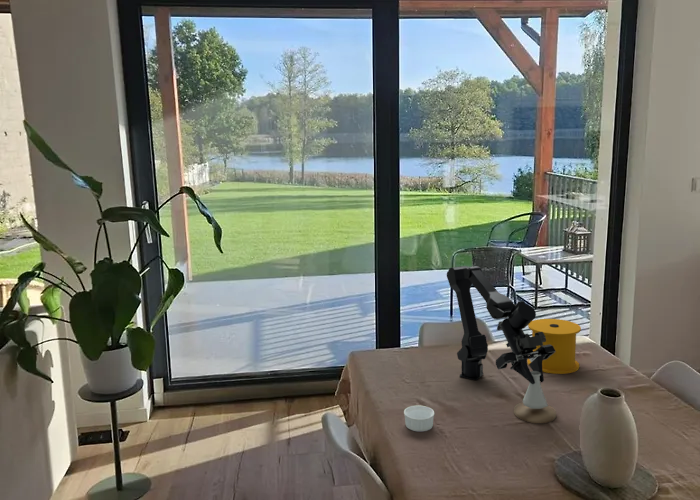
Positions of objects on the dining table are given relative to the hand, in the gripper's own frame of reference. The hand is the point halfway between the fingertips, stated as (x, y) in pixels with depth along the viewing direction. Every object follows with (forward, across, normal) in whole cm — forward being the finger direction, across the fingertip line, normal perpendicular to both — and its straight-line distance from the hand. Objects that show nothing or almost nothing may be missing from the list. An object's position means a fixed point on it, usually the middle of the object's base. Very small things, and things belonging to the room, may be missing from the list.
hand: (538, 382), depth 171 cm
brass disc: (+7, 0, +8) cm, 10 cm away
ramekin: (+1, -35, +15) cm, 38 cm away
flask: (+5, 0, +6) cm, 8 cm away
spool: (-13, +32, +29) cm, 45 cm away
